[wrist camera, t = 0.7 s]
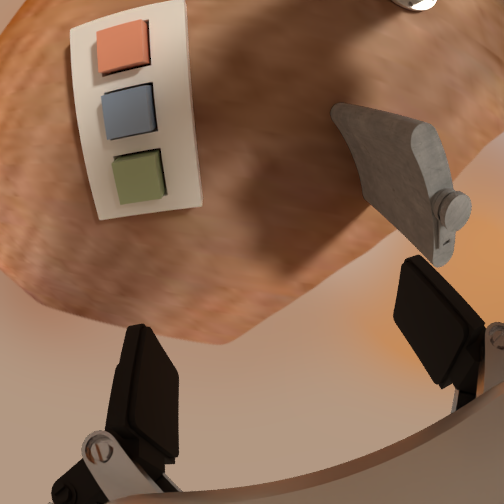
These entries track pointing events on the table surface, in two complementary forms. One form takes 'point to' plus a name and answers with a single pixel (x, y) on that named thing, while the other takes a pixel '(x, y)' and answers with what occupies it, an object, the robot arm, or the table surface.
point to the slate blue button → (128, 112)
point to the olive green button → (139, 177)
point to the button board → (166, 104)
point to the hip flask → (405, 176)
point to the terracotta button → (122, 46)
